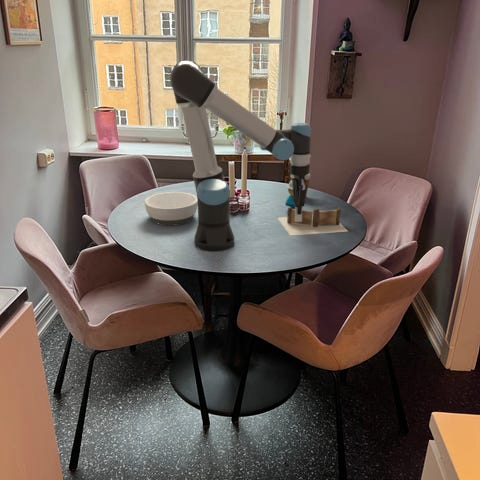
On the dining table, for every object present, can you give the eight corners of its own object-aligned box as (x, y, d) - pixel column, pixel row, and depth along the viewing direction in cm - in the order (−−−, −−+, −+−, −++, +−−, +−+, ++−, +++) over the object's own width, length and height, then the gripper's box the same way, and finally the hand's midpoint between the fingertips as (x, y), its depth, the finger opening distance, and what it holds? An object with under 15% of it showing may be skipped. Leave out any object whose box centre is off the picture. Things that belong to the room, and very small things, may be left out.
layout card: (290, 236, 189) (290, 235, 189) (277, 218, 207) (277, 217, 207) (348, 232, 194) (348, 231, 193) (330, 215, 212) (330, 214, 211)
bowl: (142, 212, 215) (141, 194, 211) (192, 207, 221) (191, 189, 218) (150, 230, 195) (148, 211, 192) (204, 224, 201) (203, 205, 198)
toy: (303, 215, 211) (305, 182, 205) (283, 214, 212) (285, 181, 207) (305, 209, 219) (307, 176, 213) (286, 207, 220) (287, 175, 214)
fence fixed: (313, 227, 197) (314, 210, 195) (311, 225, 200) (312, 208, 197) (340, 225, 199) (341, 208, 197) (338, 223, 202) (339, 206, 199)
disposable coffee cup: (310, 195, 237) (311, 171, 233) (308, 201, 229) (309, 176, 224) (290, 193, 239) (291, 170, 235) (288, 199, 231) (289, 175, 226)
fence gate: (311, 224, 200) (312, 209, 197) (311, 225, 198) (312, 210, 196) (287, 221, 202) (288, 207, 200) (286, 223, 201) (287, 208, 198)
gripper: (314, 167, 183) (311, 225, 192) (304, 160, 195) (302, 215, 204) (295, 168, 182) (293, 227, 191) (286, 161, 194) (285, 216, 203)
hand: (298, 221), depth 197 cm, fingers closed
